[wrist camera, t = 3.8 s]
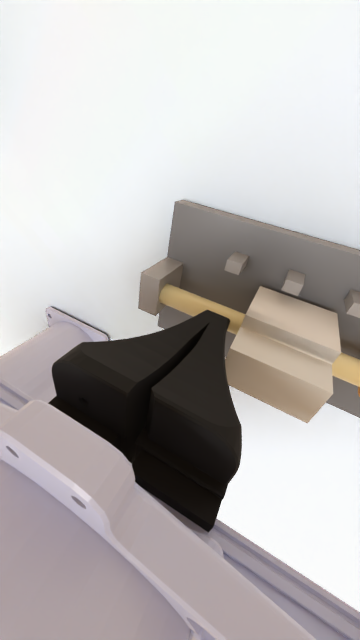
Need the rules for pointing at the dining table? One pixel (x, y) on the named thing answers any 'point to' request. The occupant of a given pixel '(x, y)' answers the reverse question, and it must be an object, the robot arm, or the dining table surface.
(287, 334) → the sleeve
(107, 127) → the dining table surface
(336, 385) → the comb rail
